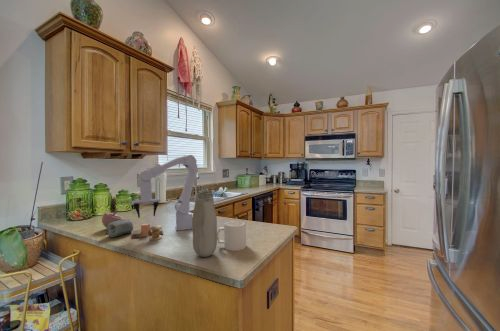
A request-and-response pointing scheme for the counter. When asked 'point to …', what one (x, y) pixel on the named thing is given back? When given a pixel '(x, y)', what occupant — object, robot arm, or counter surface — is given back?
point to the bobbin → (155, 232)
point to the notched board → (138, 233)
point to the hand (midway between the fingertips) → (146, 216)
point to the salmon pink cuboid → (145, 229)
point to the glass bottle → (204, 224)
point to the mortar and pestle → (110, 218)
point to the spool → (119, 227)
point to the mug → (233, 235)
